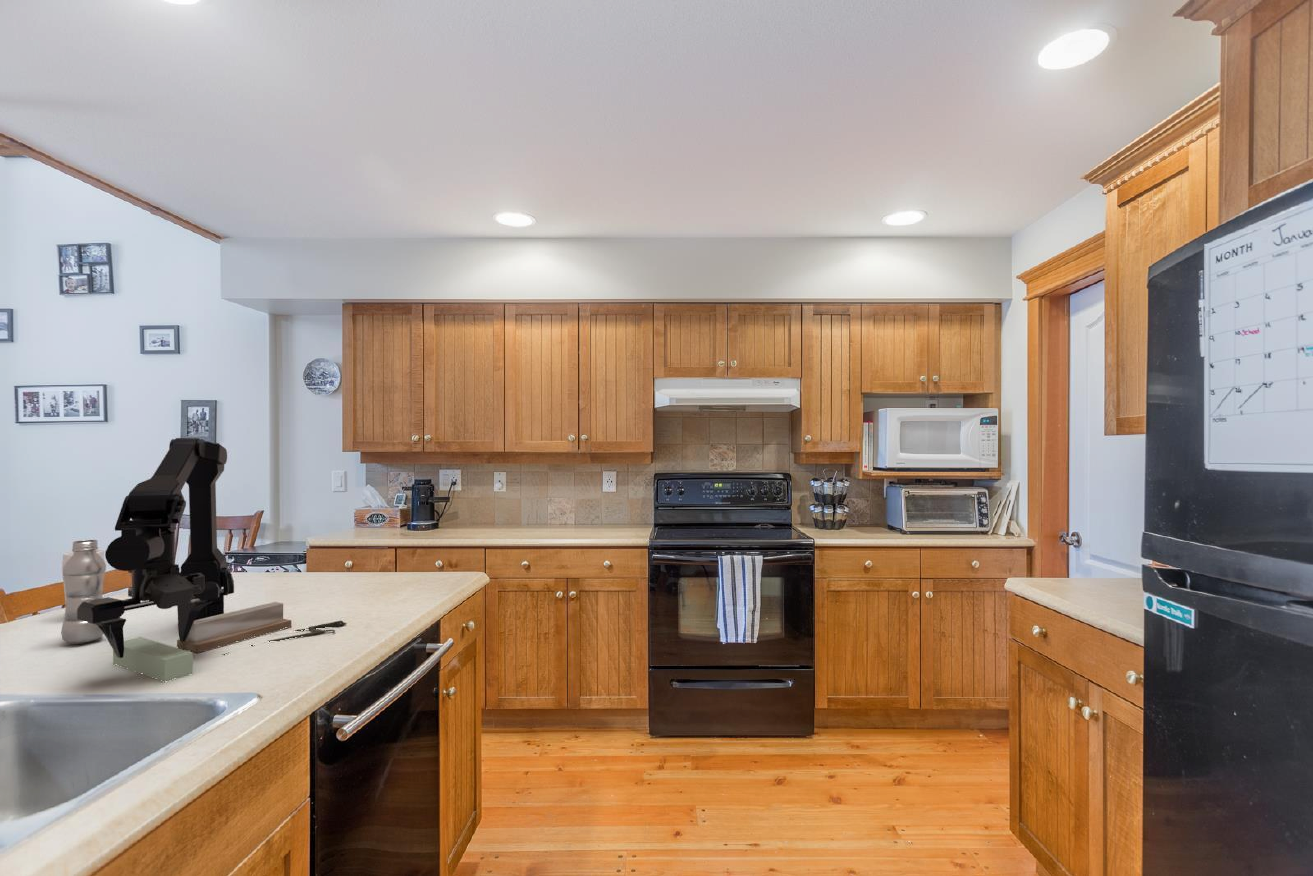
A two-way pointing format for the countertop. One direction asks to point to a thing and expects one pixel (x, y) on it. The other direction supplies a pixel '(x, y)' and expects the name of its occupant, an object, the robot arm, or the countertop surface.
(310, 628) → the brown tree branch
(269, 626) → the ridge stand
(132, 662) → the bar
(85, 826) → the countertop surface
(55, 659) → the countertop surface
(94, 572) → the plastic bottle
